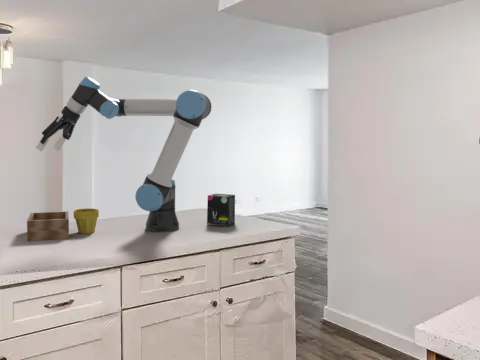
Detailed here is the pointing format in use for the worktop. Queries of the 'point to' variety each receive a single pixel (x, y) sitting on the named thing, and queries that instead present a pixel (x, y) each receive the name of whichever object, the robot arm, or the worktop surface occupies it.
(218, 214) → the tampon box
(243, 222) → the worktop surface
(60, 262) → the worktop surface
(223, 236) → the worktop surface
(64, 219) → the open wooden box
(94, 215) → the plant pot
